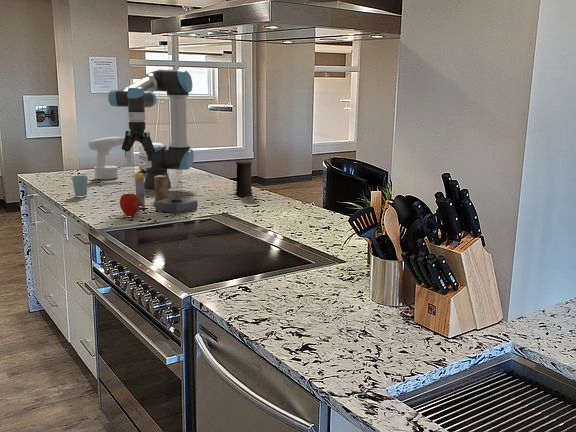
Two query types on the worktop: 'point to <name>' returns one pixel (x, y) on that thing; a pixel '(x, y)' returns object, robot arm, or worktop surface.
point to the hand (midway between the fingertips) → (138, 166)
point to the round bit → (140, 188)
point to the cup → (80, 185)
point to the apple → (129, 204)
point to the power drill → (102, 150)
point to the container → (244, 178)
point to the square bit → (161, 187)
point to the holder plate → (176, 205)
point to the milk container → (142, 156)
